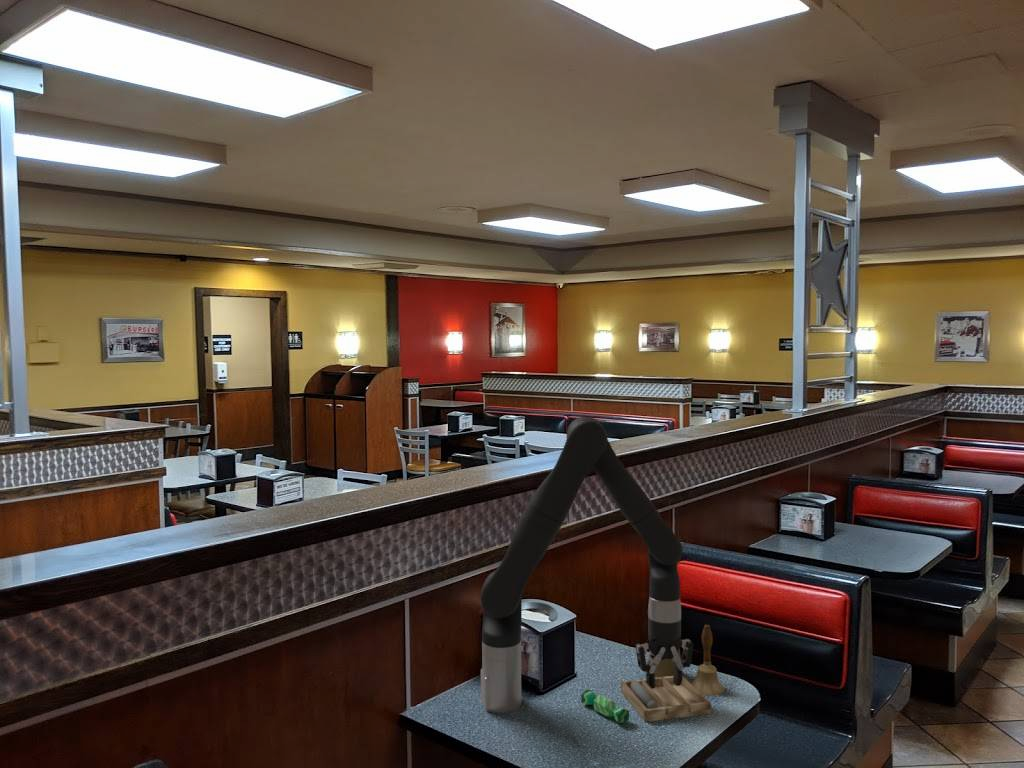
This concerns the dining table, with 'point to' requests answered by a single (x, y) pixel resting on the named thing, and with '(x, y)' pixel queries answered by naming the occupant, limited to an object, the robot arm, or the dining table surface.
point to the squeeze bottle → (665, 667)
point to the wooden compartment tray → (667, 699)
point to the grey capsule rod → (643, 695)
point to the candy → (605, 706)
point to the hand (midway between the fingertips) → (664, 685)
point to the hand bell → (707, 669)
